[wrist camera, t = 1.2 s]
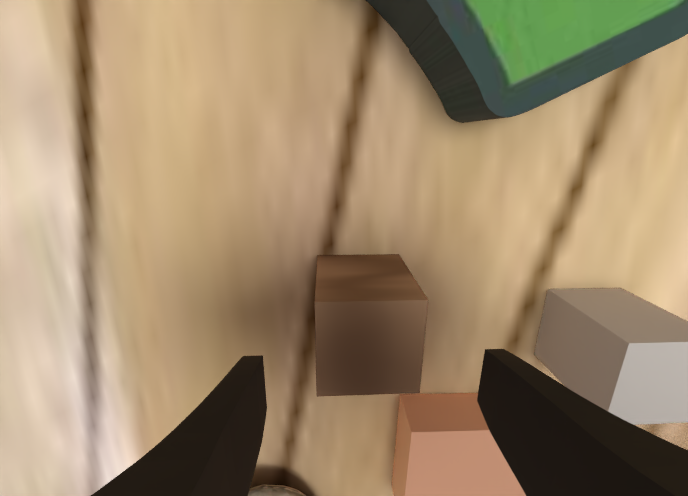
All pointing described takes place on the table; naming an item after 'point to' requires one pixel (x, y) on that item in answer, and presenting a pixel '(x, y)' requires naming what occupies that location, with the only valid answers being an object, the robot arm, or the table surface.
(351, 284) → the walnut block
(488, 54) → the emblem
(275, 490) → the sneaker
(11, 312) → the table surface
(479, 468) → the terracotta tile
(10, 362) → the table surface
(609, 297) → the light grey block
